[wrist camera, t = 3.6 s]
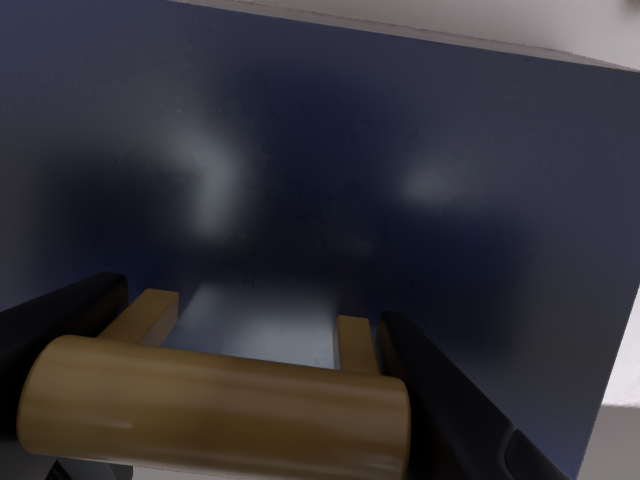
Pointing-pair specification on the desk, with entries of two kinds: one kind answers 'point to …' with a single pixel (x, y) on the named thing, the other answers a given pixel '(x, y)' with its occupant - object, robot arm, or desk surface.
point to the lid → (306, 233)
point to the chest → (403, 31)
